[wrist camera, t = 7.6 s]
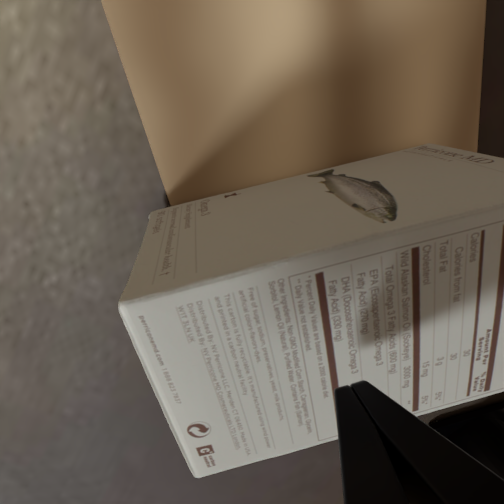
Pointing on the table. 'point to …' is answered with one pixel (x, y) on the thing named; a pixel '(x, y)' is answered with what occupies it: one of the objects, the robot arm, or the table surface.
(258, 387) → the supplement box
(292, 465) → the table surface
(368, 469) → the robot arm
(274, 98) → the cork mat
